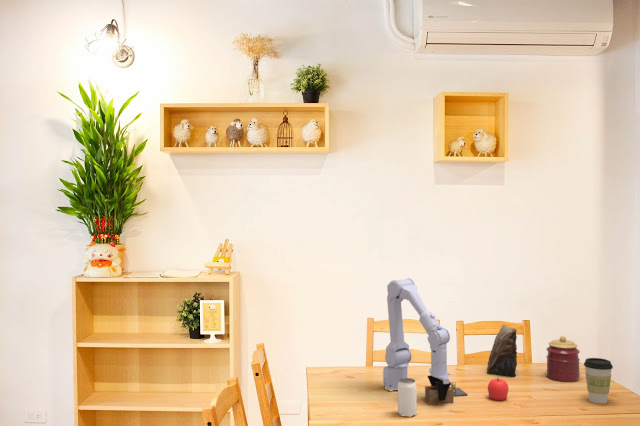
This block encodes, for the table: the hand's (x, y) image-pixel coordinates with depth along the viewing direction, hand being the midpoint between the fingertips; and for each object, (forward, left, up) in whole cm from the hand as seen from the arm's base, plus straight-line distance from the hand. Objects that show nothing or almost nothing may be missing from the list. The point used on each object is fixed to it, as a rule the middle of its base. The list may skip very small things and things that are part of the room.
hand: (439, 397), depth 222 cm
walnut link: (0, 0, -1) cm, 1 cm away
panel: (+9, +8, -1) cm, 12 cm away
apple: (+23, -1, -2) cm, 23 cm away
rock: (+40, +30, -2) cm, 50 cm away
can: (-16, -10, -2) cm, 19 cm away
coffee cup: (+58, -11, -2) cm, 59 cm away
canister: (+62, +18, -2) cm, 64 cm away
